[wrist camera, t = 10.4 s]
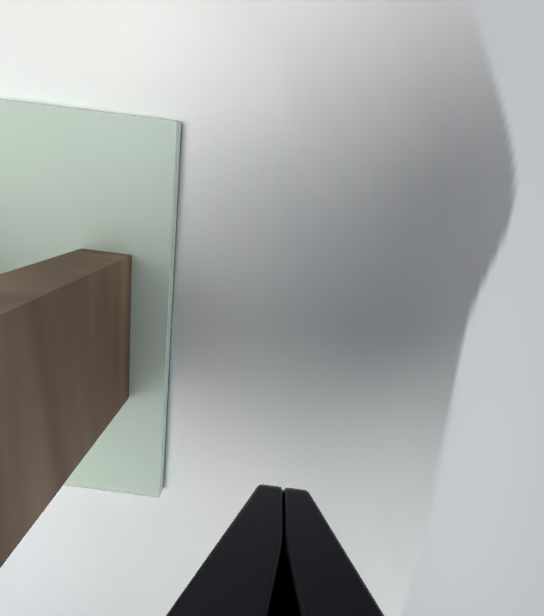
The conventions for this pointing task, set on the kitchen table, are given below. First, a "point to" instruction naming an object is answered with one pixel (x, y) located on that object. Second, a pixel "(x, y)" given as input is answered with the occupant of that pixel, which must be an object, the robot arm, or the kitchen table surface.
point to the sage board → (102, 237)
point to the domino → (57, 375)
